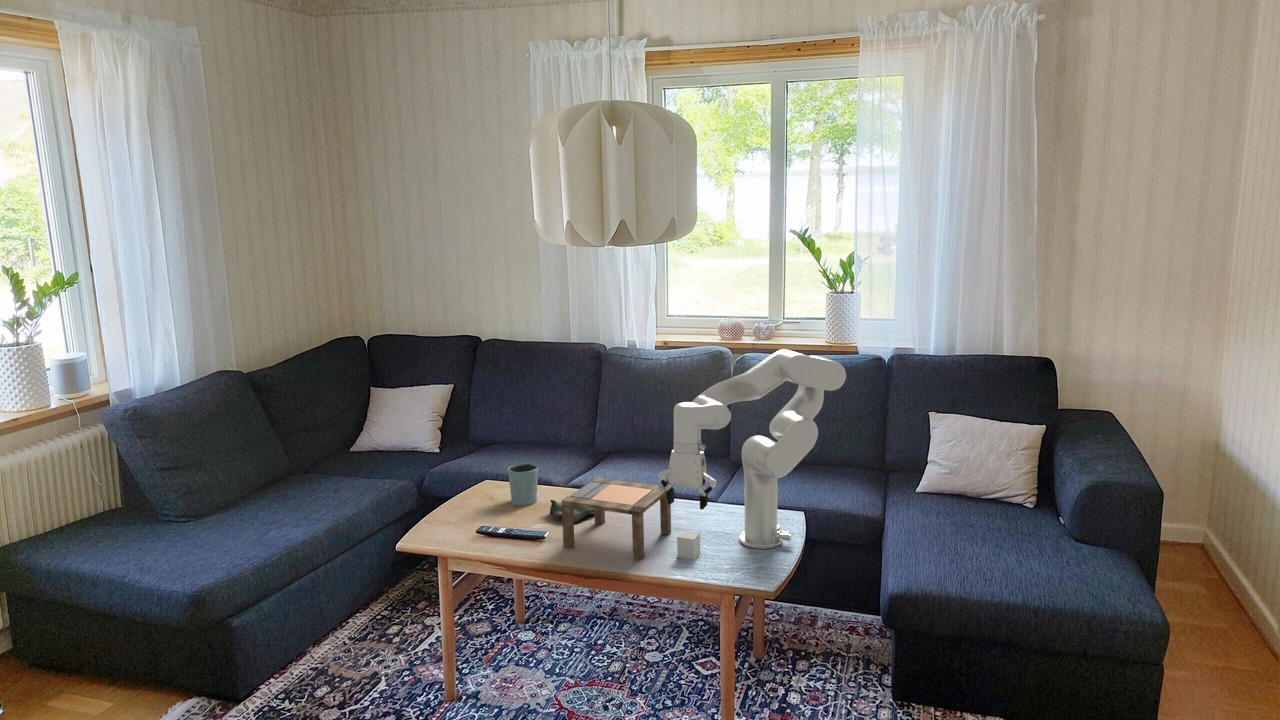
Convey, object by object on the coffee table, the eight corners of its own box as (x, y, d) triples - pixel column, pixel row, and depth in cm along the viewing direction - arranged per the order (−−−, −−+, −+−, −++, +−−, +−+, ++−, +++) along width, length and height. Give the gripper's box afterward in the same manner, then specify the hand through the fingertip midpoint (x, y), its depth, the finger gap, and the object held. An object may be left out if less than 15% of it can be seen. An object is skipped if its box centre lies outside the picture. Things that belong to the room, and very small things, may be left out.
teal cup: (506, 506, 281) (505, 472, 279) (512, 496, 291) (510, 463, 289) (537, 506, 281) (535, 471, 278) (541, 496, 291) (540, 462, 288)
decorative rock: (570, 489, 285) (609, 492, 278) (571, 507, 286) (610, 510, 279) (540, 504, 268) (581, 507, 261) (541, 523, 269) (582, 526, 262)
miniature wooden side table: (671, 532, 256) (670, 487, 253) (640, 560, 236) (639, 511, 234) (598, 521, 266) (596, 477, 264) (563, 547, 247) (561, 500, 244)
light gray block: (700, 552, 241) (700, 533, 240) (694, 559, 236) (693, 539, 235) (684, 550, 243) (683, 530, 242) (677, 556, 238) (677, 536, 237)
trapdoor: (653, 502, 252) (652, 489, 251) (633, 518, 239) (632, 504, 239) (591, 493, 261) (591, 481, 260) (569, 508, 248) (569, 495, 247)
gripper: (721, 447, 233) (720, 505, 236) (663, 440, 241) (663, 497, 244) (711, 454, 227) (711, 514, 230) (653, 446, 234) (653, 505, 237)
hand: (686, 505), depth 237 cm, fingers open, 9 cm apart
